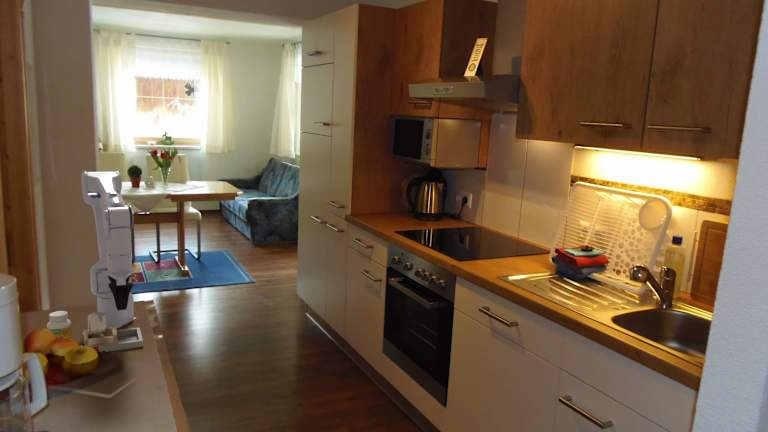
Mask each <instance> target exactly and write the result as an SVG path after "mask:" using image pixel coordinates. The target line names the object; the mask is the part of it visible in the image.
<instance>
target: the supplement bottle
mask: <svg viewBox="0 0 768 432" xmlns="http://www.w3.org/2000/svg"><path fill="white" fill-rule="evenodd" d="M68 314H69V313H68V311H66V310H57V311H54V312H50V313H49V314H48V319H49V322H47V324H46V331H47V330H49V331H51V332H52V333H54V335H56V336H57V337H60V338H67V339H72V340H73V330H72V329H73V328H72V326H73V325H72V321H71V320H70V319H68V318H69V315H68Z"/></svg>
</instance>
